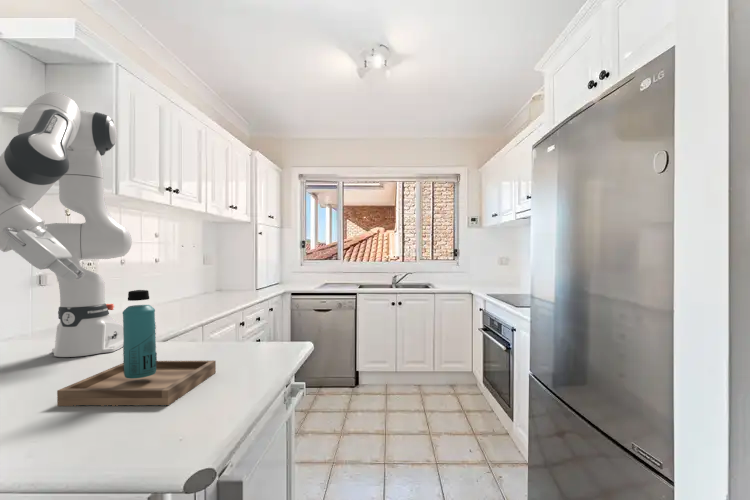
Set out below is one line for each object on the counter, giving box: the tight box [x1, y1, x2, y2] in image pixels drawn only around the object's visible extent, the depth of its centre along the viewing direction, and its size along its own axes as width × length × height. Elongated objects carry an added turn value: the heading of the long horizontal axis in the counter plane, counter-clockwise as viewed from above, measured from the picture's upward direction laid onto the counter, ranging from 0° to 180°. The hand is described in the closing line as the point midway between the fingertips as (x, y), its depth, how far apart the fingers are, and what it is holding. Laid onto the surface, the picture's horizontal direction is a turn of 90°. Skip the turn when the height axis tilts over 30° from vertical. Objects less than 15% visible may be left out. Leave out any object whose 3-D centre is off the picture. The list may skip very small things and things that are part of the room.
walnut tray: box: [56, 360, 217, 407], centre depth 92 cm, size 22×22×3 cm
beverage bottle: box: [122, 289, 158, 378], centre depth 91 cm, size 6×7×20 cm
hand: (78, 278), depth 86 cm, fingers open, 8 cm apart
